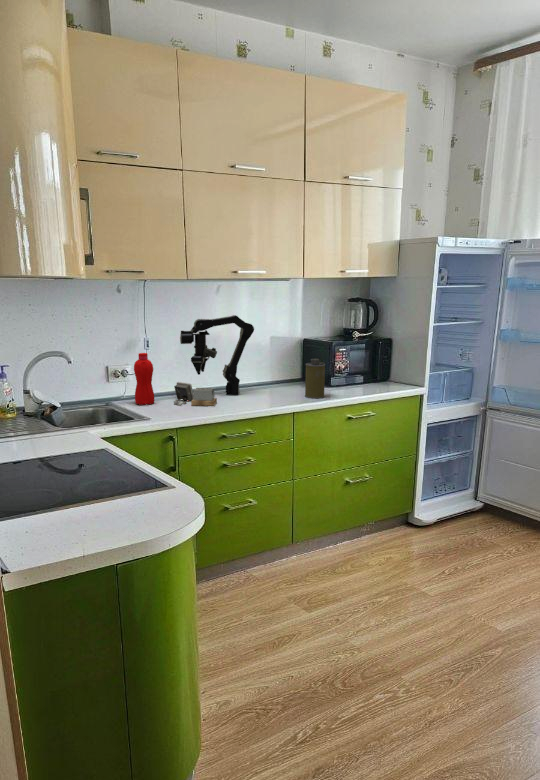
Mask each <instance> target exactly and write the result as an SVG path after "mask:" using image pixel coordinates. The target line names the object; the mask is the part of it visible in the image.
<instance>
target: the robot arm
mask: <svg viewBox="0 0 540 780" xmlns="http://www.w3.org/2000/svg"><path fill="white" fill-rule="evenodd" d="M229 324H234V325H235V326H237V327H238V328H239V329H240V331H239V338H238V341H237V344H236V345H235V346H236V347H235V349H234V350H233V353H232V356H231V358H230V361H229V363H228V364H224V368H223V370H222V372H223V373H222V376H223V378H224V379H225V380H226V381H227V382H226V385H225V395H226V396H232V395H233V396H239V394H240V392H241V391H240V381H241V380H240V378H238V377H237V373H238V371H237V370H238V365H239V362H240V360H241V357H242V355H243V351H244V350H245V346H246V345H247V342H248V341H249V340H250V338H251V336H252V335H253V333H254V330H255V327H254V325H253V324H252V323H248V322H245V321H244V320H243V319H241V318H240V317H239V316H238V315H234V314H233V315H230V316H229V315H228V316H222V317H217V318H211V319H209V318H197V319H196V320H195V321H194V323H193V327H191V329H190V330H180V336H179V342H180V345H192V343H194V346H193V349H194V353H193V356H191V357H190V362H191V364H192V366H193V367H194V369H195V371H196V374H197V375H201V372H202V373H203V372H205V368H206V364H207V361H208V360H210V358H211V359H215V358H216V357H217V354H218V351H217V348H215V347H212V348H209V347H208V345H207V336H210V333H209V331H208V330H209V329H210V328H213V327H214V328H215V327H217V326H225V325H226V326H227V325H229Z"/></svg>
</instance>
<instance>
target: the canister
mask: <svg viewBox="0 0 540 780" xmlns="http://www.w3.org/2000/svg"><path fill="white" fill-rule="evenodd" d="M325 377H326V363H325V362H321V361H320V359H319V358H311V359H310V362H307V363H305V381H304V383H305V384H304V385H305V389H304V391H305V392H304V397H305V398H307V399H324V398H325V381H326V378H325Z"/></svg>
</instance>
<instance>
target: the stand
mask: <svg viewBox="0 0 540 780" xmlns="http://www.w3.org/2000/svg"><path fill="white" fill-rule="evenodd" d="M217 400H218V398H217V397H214V399H213V400H212V401H195V400H194V399H193V400H190V403H191V404H190V405H191V407H208V406H214V405H215V404H216V405H217V402H218V401H217ZM216 405H215V406H216ZM215 406H214V407H215Z"/></svg>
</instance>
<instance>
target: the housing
mask: <svg viewBox="0 0 540 780" xmlns="http://www.w3.org/2000/svg"><path fill="white" fill-rule="evenodd" d="M193 394H194V400H195V401H212V400H213V399H214V398H215V388H214V387H196V388H195V389H193Z"/></svg>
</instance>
